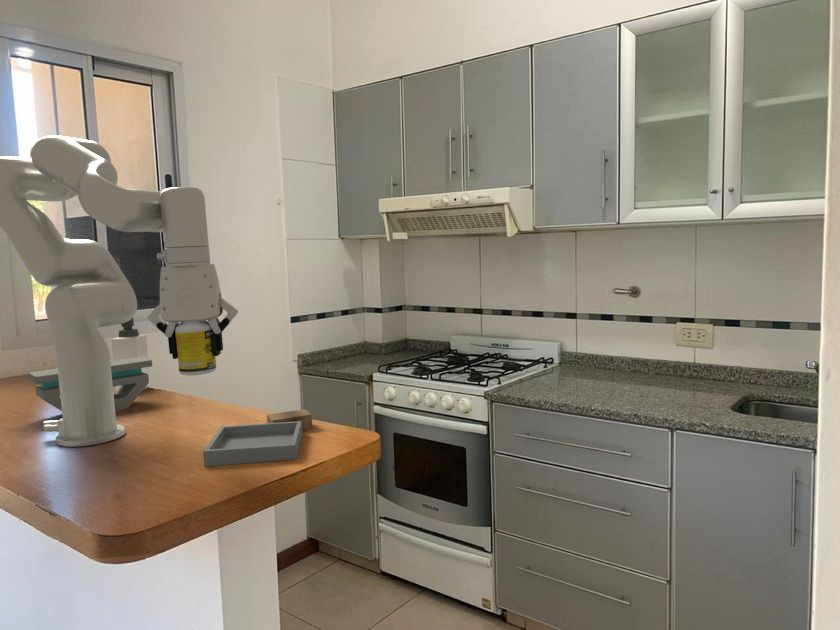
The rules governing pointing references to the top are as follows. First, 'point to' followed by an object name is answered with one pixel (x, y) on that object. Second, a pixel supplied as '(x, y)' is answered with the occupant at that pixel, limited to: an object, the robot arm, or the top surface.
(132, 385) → the sharpening stone
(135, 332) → the soap dispenser
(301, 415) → the walnut block
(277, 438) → the tray
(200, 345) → the pill bottle
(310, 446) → the top surface
